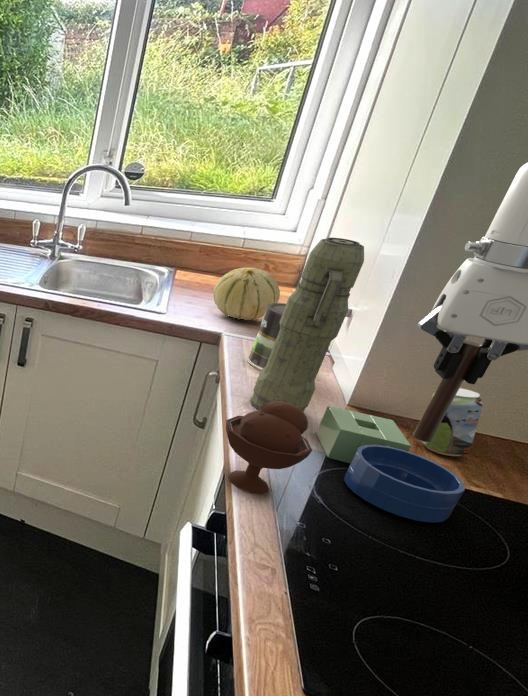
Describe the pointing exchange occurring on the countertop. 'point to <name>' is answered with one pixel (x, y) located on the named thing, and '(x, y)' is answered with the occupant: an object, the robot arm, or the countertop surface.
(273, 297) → the cantaloupe
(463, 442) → the beverage can
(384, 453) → the mixing bowl
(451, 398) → the stirring stick
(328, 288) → the thermos
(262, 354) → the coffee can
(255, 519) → the countertop surface
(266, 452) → the ice cream bowl
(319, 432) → the utensil holder
